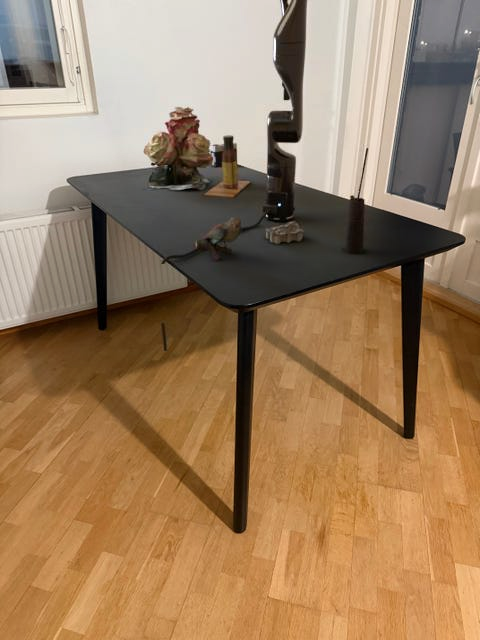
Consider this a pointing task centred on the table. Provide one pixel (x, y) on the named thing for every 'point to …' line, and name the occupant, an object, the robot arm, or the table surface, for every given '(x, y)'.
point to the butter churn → (356, 221)
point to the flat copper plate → (226, 190)
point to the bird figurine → (221, 237)
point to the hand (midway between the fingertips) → (289, 99)
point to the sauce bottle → (229, 163)
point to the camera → (218, 153)
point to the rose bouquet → (179, 153)
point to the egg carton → (284, 233)
